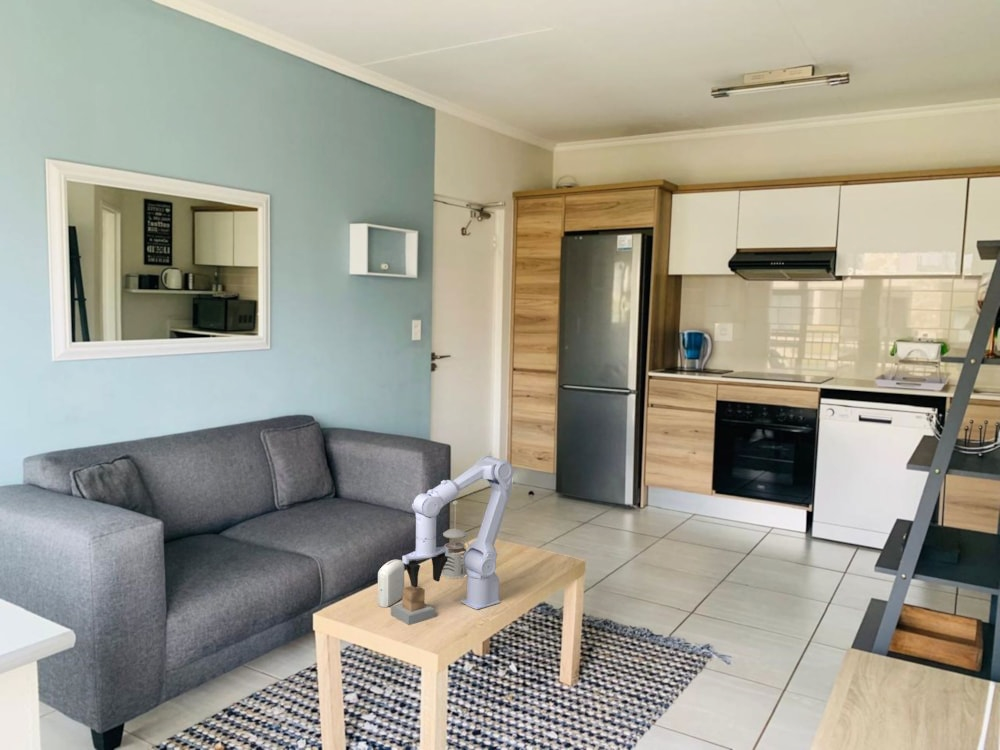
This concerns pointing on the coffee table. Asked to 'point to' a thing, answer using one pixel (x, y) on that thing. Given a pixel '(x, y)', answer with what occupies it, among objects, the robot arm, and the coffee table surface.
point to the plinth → (412, 614)
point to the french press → (454, 560)
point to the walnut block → (413, 598)
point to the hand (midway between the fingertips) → (425, 583)
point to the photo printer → (390, 583)
